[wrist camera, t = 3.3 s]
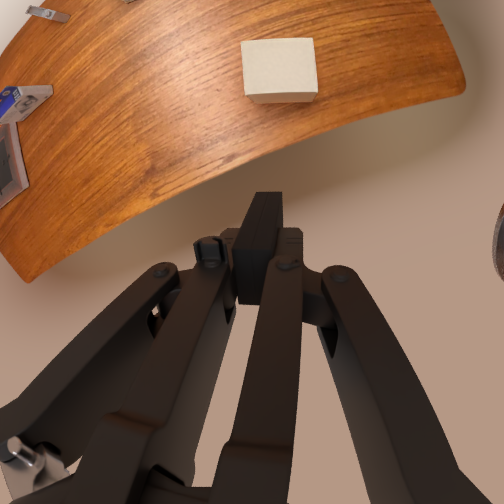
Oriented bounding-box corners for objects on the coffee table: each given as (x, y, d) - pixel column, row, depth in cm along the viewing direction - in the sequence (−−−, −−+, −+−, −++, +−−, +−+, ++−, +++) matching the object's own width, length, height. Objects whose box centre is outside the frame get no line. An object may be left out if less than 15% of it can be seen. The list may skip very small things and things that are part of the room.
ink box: (23, 122, 35) (-20, 130, 25) (21, 112, 35) (-21, 119, 24) (54, 94, 33) (6, 96, 22) (53, 83, 32) (6, 84, 22)
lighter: (70, 15, 26) (42, 7, 18) (66, 23, 26) (37, 16, 19) (54, 11, 25) (27, 4, 18) (50, 18, 25) (23, 12, 18)
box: (312, 102, 30) (318, 92, 22) (256, 104, 31) (244, 95, 23) (308, 59, 28) (312, 37, 20) (253, 62, 29) (240, 41, 21)
